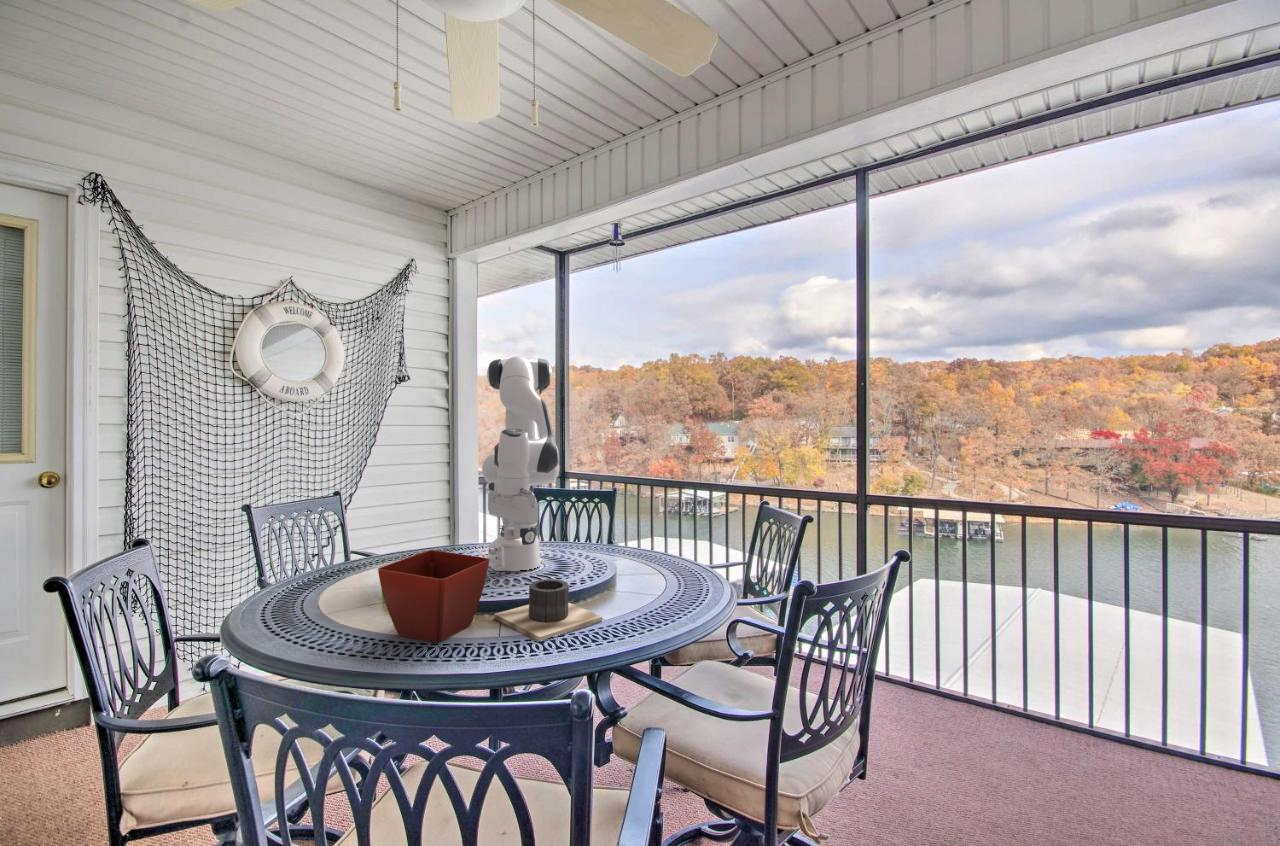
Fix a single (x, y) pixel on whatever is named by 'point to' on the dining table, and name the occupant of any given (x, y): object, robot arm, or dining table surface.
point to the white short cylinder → (511, 539)
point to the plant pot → (433, 593)
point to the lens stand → (547, 612)
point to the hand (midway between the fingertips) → (512, 535)
